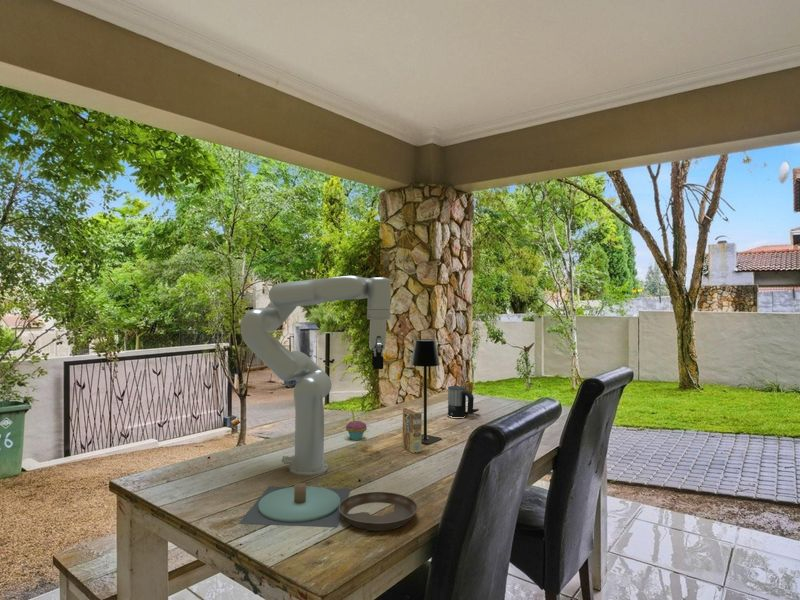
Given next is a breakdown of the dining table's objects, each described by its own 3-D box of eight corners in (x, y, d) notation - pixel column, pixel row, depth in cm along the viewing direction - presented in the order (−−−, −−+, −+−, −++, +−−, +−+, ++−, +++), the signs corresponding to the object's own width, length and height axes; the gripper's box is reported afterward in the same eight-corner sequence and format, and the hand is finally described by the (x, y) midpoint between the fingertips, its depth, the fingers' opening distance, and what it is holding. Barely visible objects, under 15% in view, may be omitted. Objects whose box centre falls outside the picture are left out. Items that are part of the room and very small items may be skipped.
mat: (238, 525, 124) (238, 523, 124) (268, 487, 149) (268, 486, 149) (337, 528, 123) (337, 527, 123) (351, 490, 148) (351, 488, 148)
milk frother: (444, 417, 243) (445, 387, 243) (453, 411, 258) (454, 383, 258) (472, 421, 238) (473, 390, 238) (480, 414, 252) (481, 385, 252)
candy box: (421, 452, 187) (422, 411, 187) (412, 453, 185) (412, 412, 185) (411, 445, 195) (411, 407, 195) (401, 447, 193) (402, 407, 193)
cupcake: (342, 440, 200) (343, 410, 200) (349, 434, 209) (350, 406, 209) (363, 442, 198) (363, 412, 198) (369, 436, 207) (369, 408, 207)
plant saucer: (340, 502, 140) (340, 490, 140) (413, 501, 141) (413, 490, 141) (336, 537, 119) (336, 523, 119) (421, 536, 120) (421, 522, 120)
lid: (246, 521, 125) (247, 499, 125) (272, 488, 147) (272, 470, 147) (332, 524, 124) (333, 502, 124) (345, 490, 146) (345, 472, 146)
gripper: (366, 314, 170) (365, 363, 170) (367, 315, 153) (366, 370, 153) (388, 314, 171) (387, 363, 171) (392, 316, 154) (390, 370, 154)
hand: (377, 366), depth 162 cm, fingers open, 9 cm apart
